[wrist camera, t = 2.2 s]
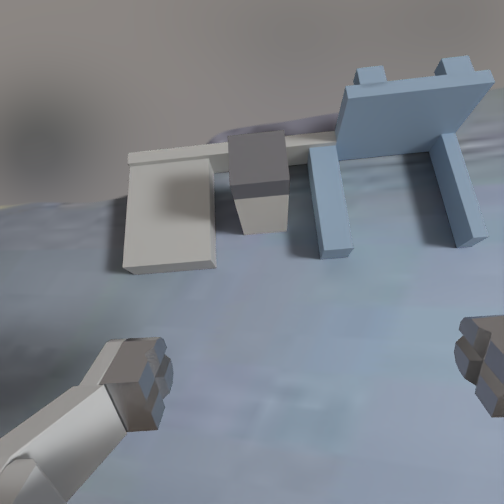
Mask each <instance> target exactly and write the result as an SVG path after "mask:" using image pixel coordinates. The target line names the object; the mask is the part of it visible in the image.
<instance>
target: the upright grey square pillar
mask: <svg viewBox="0 0 504 504" xmlns="http://www.w3.org/2000/svg"><path fill="white" fill-rule="evenodd" d="M228 156H229V179H230V188H231V191H232V195H233V198H234V202H235V205H236V209H237V212H238V216H239V219H240V222H241V226H242V229H243V233H244V235H251V234H262V233H273V232H284V231H287V220H288V203H289V186H290V176H289V168H288V159H287V150H286V142H285V133H284V130H279V131H269V132H260V133H251V134H241V135H232V136H228Z"/></svg>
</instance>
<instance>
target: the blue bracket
mask: <svg viewBox="0 0 504 504" xmlns="http://www.w3.org/2000/svg"><path fill="white" fill-rule="evenodd" d="M434 73H435V76H430V77H422V78H413V79H404V80H396V81H387V79H386V76H385V72H384V68H383V66H374V67H366V68H358V69H357V70H356V73H355V77H354V81H353V82H354V85H353V86H346V87H345V91H344V95H343V99H342V103H341V107H340V111H339V115H338V119H337V124H336V128H335V135H336V141H337V142H336V145H334V146H324V147H314V148H309V154H308V161H307V167H308V174H309V181H310V188H311V195H312V203H313V210H314V217H315V224H316V231H317V239H318V246H319V253H320V259H332V258H344V257H348V256H349V254H350V253H351V251H352V250H353V249H354V246H353V240H352V235H351V229H350V223H349V218H348V212H347V206H346V201H345V195H344V189H343V184H342V178H341V172H340V167H339V161H340V160H350V159H359V158H369V157H379V156H389V155H399V154H409V153H419V152H429V154H430V157H431V161H432V164H433V168H434V171H435V175H436V178H437V181H438V185H439V188H440V192H441V195H442V199H443V202H444V206H445V209H446V213H447V216H448V220H449V223H450V227H451V230H452V233H453V237H454V240H455V244H456V247H457V248H464V247H472V246H473V245H475V244H477V243H479V242H480V241H482V240H484V239H486V238H487V237H489V235H488V231H487V228H486V225H485V222H484V219H483V216H482V213H481V210H480V207H479V204H478V201H477V198H476V195H475V192H474V189H473V186H472V183H471V180H470V177H469V174H468V170H467V167H466V164H465V161H464V158H463V155H462V152H461V149H460V146H459V143H458V140H457V137H456V134H455V132H456V131H457V130H458V129H459V127H460V126H461V125H462V124H463V122H464V121H465V120H466V118H467V117H468V116H469V115H470V113H471V112H472V111H473V110H474V108H475V107H476V106H477V104H478V103H479V102H480V101H481V99H482V98H483V97H484V96H485V94H486V93H487V92H488V90H489V89H490V88H491V87H492V85H493V84H494V83H495V81H494V79H493V76H492V73H491V71H490V70H483V71H474V68H473V66H472V63H471V61H470V58H469V56H460V57H451V58H442V59H441V61H440V62H439V64H438V66H437V68H436V70H435V72H434Z"/></svg>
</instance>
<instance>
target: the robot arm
mask: <svg viewBox="0 0 504 504" xmlns="http://www.w3.org/2000/svg"><path fill="white" fill-rule="evenodd" d="M459 330H460V332H461V333H462V334H463V336H462V337H461V338H460V339H459V340H458V341H457V342H456V344H455V349H454V355H455V361H456V364H457V366H458V369H459V371H460V372H461V374H462V375H463V377H464V378H465V379H466V380H468V381H469V382H471V383H473V384H474V385H476V389H475V394H476V396H477V397H478V399H479V400H480V401H481V403H482V404H483V406H484V407H485V409H486V410H487V412H488V413H489V414H490V416H491V417H504V315H492V316H478V317H464V318H463V320H462V321H461V322H460V326H459ZM166 348H167V346H166V344H165V341H164V339H163V338H161V337H152V338H128V339H111V340H110V341H108V342H106V344H105V345H104V347H103V348H102V350H101V352H100V353H99V355H98V356H97V358H96V359H95V361H94V363H93V364H92V366H91V367H90V369H89V370H88V372H87V374H86V375H85V377H84V378H83V380H82V381H81V383H80V384H79V386H73V387H72V388H70V389H69V390H67V391H66V392H65V393H63V394H62V395H60V396H59V397H58V398H56V399H55V400H53V401H52V402H51V403H49V404H48V405H46V406H45V407H44V408H42V409H41V410H39V411H38V412H37V413H35V414H34V415H33V416H31V417H30V418H28V419H27V420H26V421H24V422H23V423H21V424H20V425H19V426H17V427H16V428H14V429H13V430H12V431H10V432H9V433H7V434H6V435H5V436H3V437H2V438H0V504H67V501H68V500H69V499H70V498H71V497H72V496H73V495H74V494H75V492H76V491H77V490H78V489H79V488H80V487H81V486H82V484H83V483H84V482H85V481H86V480H87V479H88V478H89V477H90V475H91V474H92V473H93V472H94V471H95V470H96V469H97V467H98V466H99V465H100V464H101V463H102V462H103V461H104V460H105V458H106V457H107V456H108V455H109V454H110V453H111V452H112V450H113V449H114V448H115V447H116V446H117V445H118V444H119V443H120V441H121V440H122V439H123V438H124V437H125V436H126V435H127V432H136V431H150V430H158V428H159V425H160V422H161V419H162V416H163V412H164V409H165V405H164V402H163V399H164V398H165V397H166V396H167V395H168V394H169V393H170V390H171V387H172V383H173V365H172V362H171V359H170V358H169V357H167V356H166V355H165V351H166Z"/></svg>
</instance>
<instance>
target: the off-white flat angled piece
mask: <svg viewBox="0 0 504 504" xmlns="http://www.w3.org/2000/svg"><path fill="white" fill-rule="evenodd" d="M285 142H286V150H287V159H288V166H290V165H300V164H307V161H308V154H309V148H314V147H324V146H334V145H336V142H337V141H336V135H335V131H328V132H319V133H309V134H300V135H291V136H285ZM128 165H129V166H130V172H129V186H128V200H127V213H126V227H125V241H124V255H123V268H124V269H126V270H128V271H129V272H131V273H133V274H135V275H140V274H152V273H164V272H176V271H188V270H200V269H212V268H216V232H215V195H214V173H221V172H229V156H228V142H225V143H216V144H206V145H197V146H188V147H178V148H169V149H159V150H150V151H141V152H132V153H128Z"/></svg>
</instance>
